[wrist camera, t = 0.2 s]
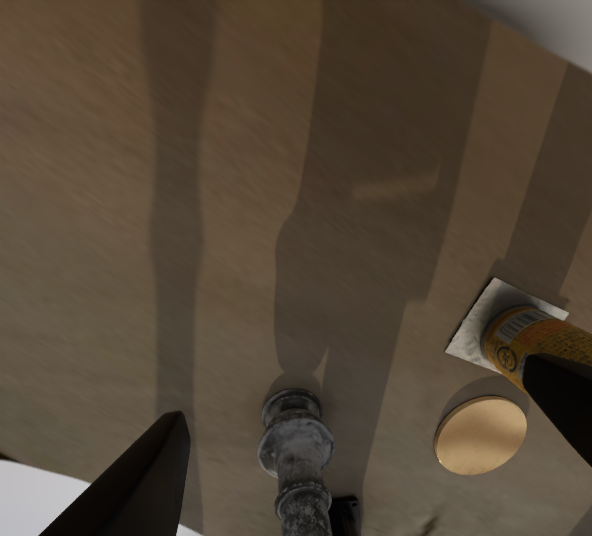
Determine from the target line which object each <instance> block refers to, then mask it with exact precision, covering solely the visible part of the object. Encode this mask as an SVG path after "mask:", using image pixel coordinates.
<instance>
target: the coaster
mask: <svg viewBox="0 0 592 536" xmlns="http://www.w3.org/2000/svg"><path fill="white" fill-rule="evenodd" d="M526 429H527V423H526V418H525V416H524V413H523V412H522V410H521V409H520V408H519V407H518V406H517V405H516V404H514V403H513V402H512V401H510V400H508V399H506V398H503V397H498V396H484V397H479V398H475V399H472V400H470V401H467V402H465V403H463V404H462V405H460V406H458V407H457V408H456V409H454V410H453V411H452V412H451V413H449V414H448V416H447V417H446V418H445V419H444V420H443V422H442V423H441V424H440V426H439V428H438V430H437V433H436V436H435V441H434V448H435V452H436V455H437V457H438V459H439V460H440V462H441V463H442V464H443V466H444V467H446V468H447V469H448V470H450V471H452V472H454V473H457V474H462V475H475V474H481V473H485V472H488V471H490V470H493V469H495V468H497V467H499V466H500V465H502V464H503V463H505V462H506V461H507V460H509V459H510V458H511V457H512V456H513V455H514V454H515V453H516V451H517V450H518V449H519V447H520V446H521V444H522V442H523V440H524V438H525V435H526Z"/></svg>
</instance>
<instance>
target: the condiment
mask: <svg viewBox="0 0 592 536" xmlns="http://www.w3.org/2000/svg"><path fill="white" fill-rule="evenodd" d="M568 314H569V313H568V312H566V311H564V310H561V309H559V308H557V307H555V306H553V305H551V304H549V303H547V302H545V301H543V300H541V299H538V298H536V297H534V296H532V295H530V294H528V293H526V292H524V291H522V290H520V289H518V288H516V287H514V286H511V285H509V284H507V283H505V282H503V281H501V280H499V279H497V278H495V277H494V279H493V280H492V281H491V283H490V284H489V286H488V287H487V288H486V289H485V290H484V292H483V293H482V295H481V296H480V298H479V299H478V301H477V302H476V304H475V305H474V306H473V308H472V309H471V311H470V313H469V314H468V316H467V317H466V319H465V320H463V322H462V325H461V327H460V329H459V330H458V332H457V333H456V335H455V336H454V337H453V339H452V341H451V343H450V345H449V346H448V348H447V349H446V351H445V352H446V353H449V354H451V355H454V356H457V357H459V358H461V359H464V360H467V361H469V362H472V363H474V364H477V365H480V366H483V367H485V368H488V369H491V370H493V371H496V372H498V373H501V374H503V375H504V376H506V377H507V378H508V379H509V380H510V381H511V382H512V383H513V384H515V385H516V386H517V387H518V388H519V389H521V390H522V391H524V392H525V393H526V394H528V393H527V391H526V390H525V388H524V386H523V383H522V377H523V370H524V363H525V358H526V357H527V356H528V355H530V354H536V353H548V354H552V355H555V356H559V357H562V358H565V359H569V360H572V361H576V362H579V363H583V364H586V365H590V366H592V334H590V333H588V332H586V331H584V330H582V329H580V328H577V327H575V326H573V325H571V324H569V323H567V322H565V321H564V320H565V318H566V317H567V315H568ZM528 395H529V394H528ZM529 396H530V395H529Z"/></svg>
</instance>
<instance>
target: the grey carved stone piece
mask: <svg viewBox="0 0 592 536" xmlns="http://www.w3.org/2000/svg"><path fill="white" fill-rule="evenodd" d="M322 415H323V411H322V405H321V403H320V401H319V399H318V398H317V397H316V396H315V395H313V394H312V393H310V392H308V391H305V390H302V389H288V390H284V391H281V392H279V393H277V394H275V395H274V396H272V397H271V398H270V399H269V400H268V401H267V402H266V404H265V406H264V408H263V410H262V423H263V426H264V427H265V431H264V433H263V436H262V438H261V440H260V442H259V444H258V450H257V456H258V461H259V463H260V465H261V466H262V468H263V469H264V470H265V471H266V472H267V473H268V474H270V475H272V476H274V477H276V478H278V490H279V495H278V497H277V499H276V500H275V505H274V509H275V513H276V515H277V517H278V518H279V519H280V520H281V526H282V536H332V531H331V525H330V520H329V515H328V510H329V508H330V506H331V502H332V500H331V494H330V492H329V490H328V489H327V488H326V487H325V486H324V483H323V478H322V473H321V471H322V470H323V469H324V468H325V467H326V466H327V465H328V464H329V462H330V461H331V459H332V457H333V455H334V451H335V440H334V437H333V435H332V433H331V431H330V430H329V429H328V428H327V427H326V426H325V424H324V423H323V422H322Z"/></svg>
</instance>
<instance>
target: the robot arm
mask: <svg viewBox="0 0 592 536" xmlns="http://www.w3.org/2000/svg"><path fill="white" fill-rule="evenodd" d="M522 383H523V386H524V388H525V390H526V391H527V393H528V394H529V395H530V396H531V398H532V399H533V400H534V401H535V402H536V404H537V405H538V406H539V407H540V408H541V410H542V411H543V412H544V413H545V415H546V416H547V417H548V418H549V419H550V421H551V422H552V423H553V424H554V425H555V427H556V428H557V429H558V430H559V432H560V433H561V434H562V435H563V436H564V438H565V439H566V440H567V441H568V442H569V443H570V445H571V446H572V447H573V448H574V449H575V450H576V451H577V452H578V453H579V454H580V456H581V457H582V458H583V459H584V460H585V461H586V462H587V463H588V464H589V465H590V466H591V467H592V366H590V365H586V364H583V363H579V362H576V361H572V360H569V359H565V358H562V357H559V356H555V355H552V354H548V353H536V354H530V355H528V356H527V357H526V358H525V363H524V370H523V377H522ZM190 444H191V442H190V434H189V431H188V427H187V423H186V419H185V416H184V413H183V412H182V411H174V412H168V413H165V414H163V415H162V416H161V417H160V418H159V419H158V420H157V421H156V422H155V423H154V424H153V425H152V426H151V427H150V428H149V429H148V430H147V431H146V432H145V433H144V434H143V435H142V436H140V437H139V438H138V439H137V440H136V441H135V442H134V443H133V444H132V445H131V446H130V447H129V448H128V449H127V450H126V451H125V452H124V453H123V454H122V455H121V456H120V457H119V458H118V459H117V460H116V461H115V462H114V463H113V464H112V465H111V466H110V467H109V468H108V469H107V470H105V471H104V472H103V473H102V474H101V475H100V476H99V477H98V478H97V479H96V480H95V481H94V482H93V483H92V484H91V485H90V486H89V487H88V488H87V489H86V490H85V491H84V492H83V493H82V494H81V495H80V496H79V497H78V498H77V499H76V500H75V501H74V502H73V503H72V504H70V505H69V506H68V507H67V508H66V509H65V510H64V511H63V512H62V513H61V514H60V515H59V516H58V517H57V518H56V519H55V520H54V521H53V522H52V523H51V524H50V525H49V526H48V527H47V528H46V529H45V530H44V531H43V532H42V533H41V534H40V535H39V536H176V533H177V528H178V524H179V520H180V514H181V508H182V501H183V494H184V487H185V480H186V474H187V467H188V460H189V453H190ZM328 515H329V520H330V525H331V531H332V536H361V529H360V512H359V502H358V499H357V497H348V498H343V499H337V500H332V502H331V506H330V508H329V510H328Z"/></svg>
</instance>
